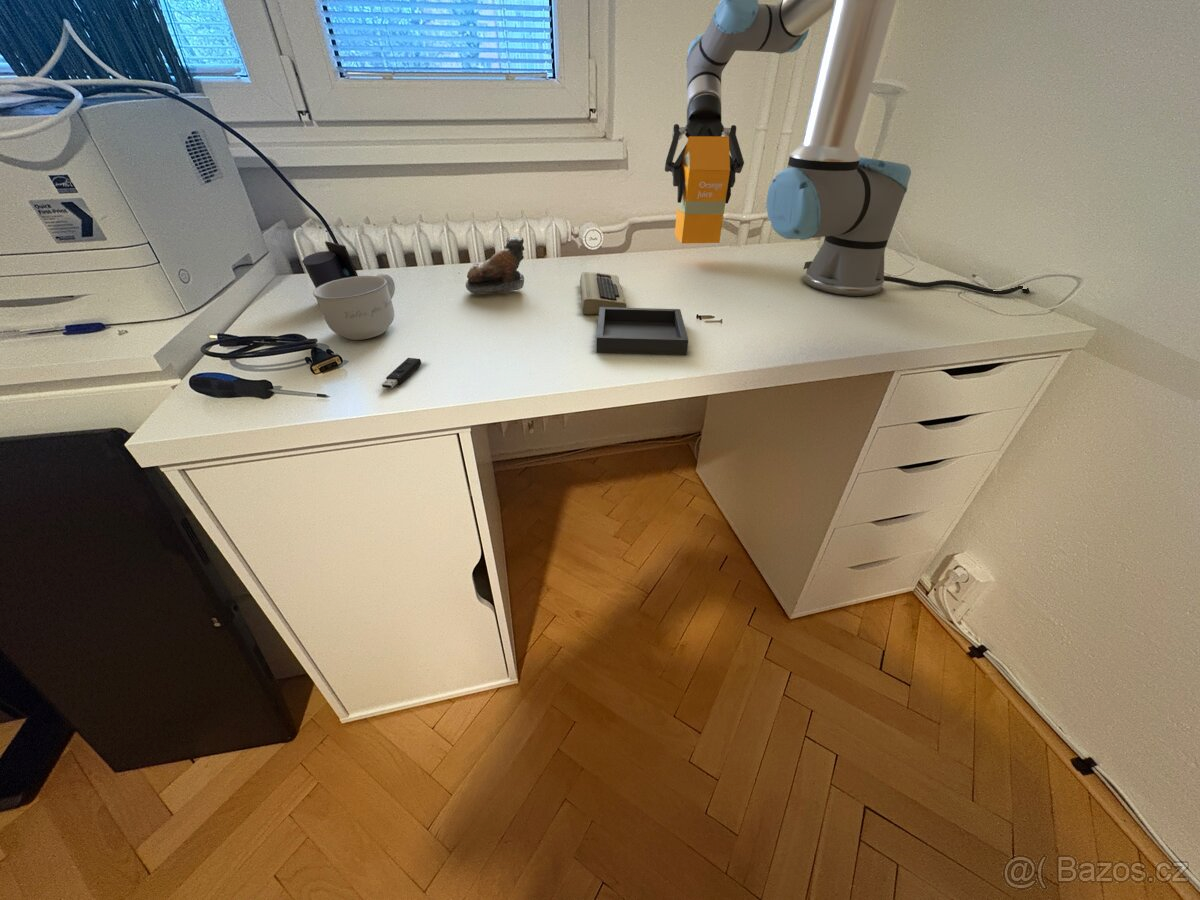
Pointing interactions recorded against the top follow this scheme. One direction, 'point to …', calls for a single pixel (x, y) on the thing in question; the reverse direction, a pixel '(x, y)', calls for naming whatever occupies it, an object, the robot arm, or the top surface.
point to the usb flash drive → (401, 372)
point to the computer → (600, 292)
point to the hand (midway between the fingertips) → (703, 198)
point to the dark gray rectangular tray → (641, 331)
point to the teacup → (357, 305)
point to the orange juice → (703, 189)
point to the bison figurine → (498, 271)
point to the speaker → (329, 265)
